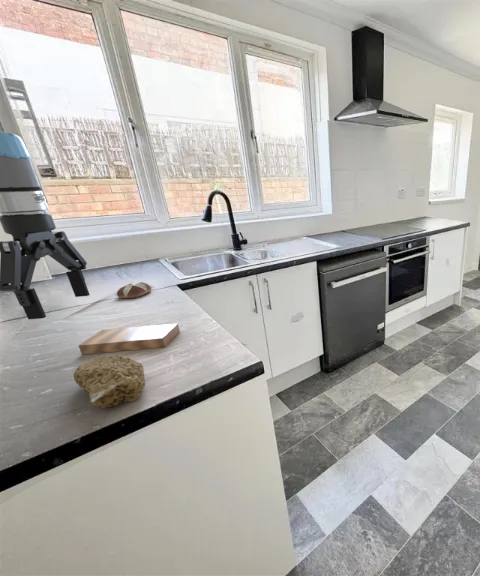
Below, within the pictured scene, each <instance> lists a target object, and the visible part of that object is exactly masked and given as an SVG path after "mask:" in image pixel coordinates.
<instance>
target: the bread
mask: <svg viewBox="0 0 480 576" xmlns="http://www.w3.org/2000/svg"><path fill="white" fill-rule="evenodd" d="M151 291H152V287H151V285H150V284H148V283H146V282H143V281H141V282H131V283H128V284H126V285H124V286H122V287H120V288H118V289H117V291H116V296H117V297H118V298H120V299H136V298H139V296H140V297H142V296H144V295H146V294H148V293H150V292H151ZM135 297H136V298H135Z"/></svg>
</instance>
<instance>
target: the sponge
mask: <svg viewBox="0 0 480 576" xmlns="http://www.w3.org/2000/svg"><path fill="white" fill-rule="evenodd" d="M144 369H145V368H144V365H143V364H142V363H141V362H138V361H136V360H135V359H133V358H131V357H130V356H129V357H128V356H127V355H125V354H123V355H122V354H108V355H103V356H99V357H96V358H94V359H93V360H89V361H87V362H85V363H83V364H81V365H79V366H77V368H76V369H75V370H74V373H73V379H74V382H75V383H76V385H78V386H79V387H80V388H82V389H83V390H84V391H86V392H87V393H88V396H89V397H88V398H89V403H90V405H91V406H93V407H95V408H100V409H102V410H103V409H106V408H111V407H115V406H118V405H122V404H123V402H124V403H130V402H135V401H136V400H137V399H139V398H140V397H141V396H142V393H143V392H144V390H145V387H146V379H145V370H144Z"/></svg>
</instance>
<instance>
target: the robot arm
mask: <svg viewBox="0 0 480 576" xmlns="http://www.w3.org/2000/svg"><path fill="white" fill-rule="evenodd" d="M31 157H32V156H31V155H30V154H29V151H28V149H27V148H26V145H25V143H24V141H23V139H22V138H21V137H20V136H19V135H17V134H15V133H14V132H13V133H12V132H7V131H0V225H1V227H2V229H3V232H4V233H5V234H6V235H11V237H12V240H6V241H5V240H4V241H2V240H1V241H0V291H1V292H8V293H9V292H10V293H11V292H12V293H14V296H15V298H16V300H17V302H18V305H20V306H21V307H22V308H23V310H24V314H25V315H26V317H27V319H28V320H38V319H39V320H40V319H45V318H47V315H46V312H45V311H44V308H43V305H42V303H41V300H40V298H39V296H38V294H37V292H36V289H35V288H34V287H33V288H30V287H31V283H32V280H33V277H34V273H35V270H36V265H37V262H38V261H40V260H41V258H45V257H46V256H49V257H50V258H52V259H53V260H55V262H57V263H58V264H60V265H61V266H62V267H64V268H65V269H66V270H68V271H65V273H66V276H67V279H68V281H69V284H70V286H71V289H72V292H73V295H74V297H75V298H79V297H89V296H90V292H89V288H88V285H87V283H86V279H85V276H84V273H83V271H85V270H86V269H87V264H88V262H87V261H86V260H85V258H84V257H83V256H82V254H80V252H79V251H78V250H77V249H76V247H75V246H74V244H72V243H71V241H70V239H68V236H67V234H66V232H65V231H64V230H58V231H54V230H56V229H57V227H56V223H55V221H54V218H53V216H52V214H51V213H50V212H47V211H48V210H49V206H48V204H47V201H46V198H45V195H44V193H43V190H42V187H41V185H40V182H39V179H38V176H37V174H36V173H37V172H36V171H35V168H34V165H33V162H32V158H31Z"/></svg>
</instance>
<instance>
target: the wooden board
mask: <svg viewBox="0 0 480 576" xmlns="http://www.w3.org/2000/svg"><path fill="white" fill-rule="evenodd" d="M180 332H181V331H180V326H179V323H168V324H156V325H155V324H154V325H144V326H143V325H142V326H133V327H132V326H129V327H119V328H118V327H117V328H106V329H105V328H104V329H101V330H99V331H98V332H96V333H95V334H93V335H91V336H90V337H89V338H87V339H86V340H84V341H83V342H81V343H80V344H78V345H77V346H78V348H79V351H80V354H81V355H92V354H102V353H103V354H104V353H113V352H125V351H126V352H127V351H135V350H147V349H159V348H166V347H167V346H168V345H169V344H170V343H171V342H172V341H173V340H174V339H175V337H177V335H179V334H180Z"/></svg>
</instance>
